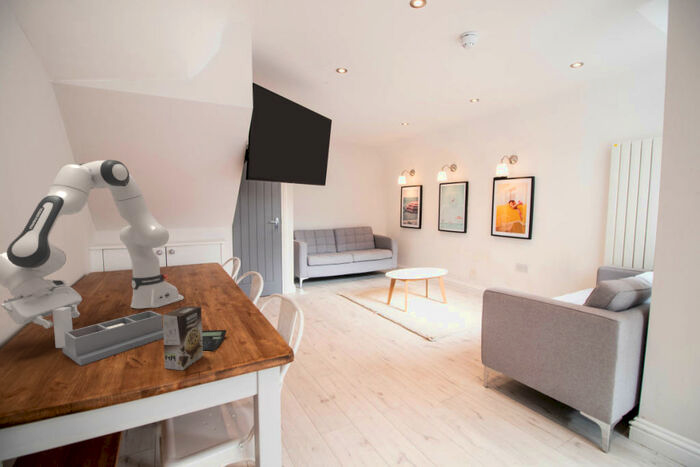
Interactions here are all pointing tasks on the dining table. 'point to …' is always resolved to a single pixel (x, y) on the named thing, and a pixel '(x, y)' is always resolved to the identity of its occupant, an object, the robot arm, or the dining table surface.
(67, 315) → the light grey bar
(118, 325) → the key cream
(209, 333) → the calculator
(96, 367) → the dining table surface
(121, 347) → the keypad
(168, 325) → the coffee box
